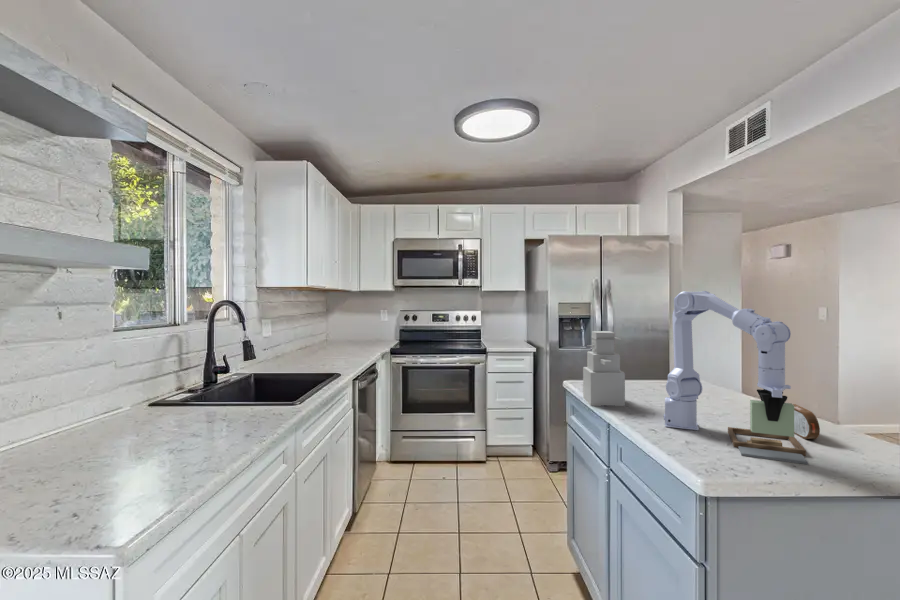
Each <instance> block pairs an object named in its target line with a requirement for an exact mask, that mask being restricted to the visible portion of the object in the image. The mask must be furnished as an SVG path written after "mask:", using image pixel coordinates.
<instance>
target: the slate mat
mask: <svg viewBox="0 0 900 600" xmlns="http://www.w3.org/2000/svg"><path fill="white" fill-rule="evenodd" d="M737 449H738V451H739V453H740V455H741V456H743V457H751V458H758V459H766V460H770V461H771V460H773V461H781V462H788V463H795V464H803V465H809V461H808V460H807V459H806V458H805V456H803V455H802V454H797V453H789V452H781V451H773V450H765V449H757V448H749V447H741V446H738V448H737Z"/></svg>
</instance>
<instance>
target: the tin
mask: <svg viewBox="0 0 900 600" xmlns="http://www.w3.org/2000/svg"><path fill="white" fill-rule="evenodd" d="M792 404H793V405H794V435H796V434H797V435H796V436H798V437H800V438H801V439H804V440H817V439H818V438H819V436H820V432H821V429H820V423H819V420H818V418H817V416H816V414H815V413H813V411H811V410H810V409H808V408H805V407H802V406H801V405H799V404H796V403H792Z"/></svg>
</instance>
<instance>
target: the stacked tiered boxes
mask: <svg viewBox="0 0 900 600" xmlns="http://www.w3.org/2000/svg"><path fill="white" fill-rule="evenodd" d="M616 340H621V338H619V337H618V336H617V337H616V336H615V332H614V331H610V330H603V331H602V330H599V331H598V330H592V331H591V344H590V345H588V347H591V351H587V352H586V353H587V354H586V355H587V357H586V359H587V361H586V364H587V366H583V367H582V380H583V381H582V383H583V384H582V387H583V388H582V390H583V391H582V393H583V394H582V395H583V396H582V397H583V399H584V401H586V403H588V405H589V406H591V407H602V406H601V405H615V406H614V407H626V373H625V372H624V371H623V370H621V355H620V354H619V353H617V352H616V350H615V349H616V346H615V345H616V344H615V341H616Z"/></svg>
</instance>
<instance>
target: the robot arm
mask: <svg viewBox="0 0 900 600" xmlns="http://www.w3.org/2000/svg"><path fill="white" fill-rule="evenodd" d="M716 295H717V294H715V293H711V292H709V291H707V290H702V291H685V290H684V291H681V292H679V293H678V294H677V295H676V296H675V297H674V298H673V312H672V316H671V317H672V333H673V334H672V336H673V337H672V339H673V340H672V342H673V343H672V344H673V366H674V367H673V369H672V370H671V371H670V372H669V373H668V374H667V381H666V384H665V390H666V393H667V394H668V396H669V397H664V413H663V420H664V427H666V428H674V429H681V430H682V429H684V430H691V431H693V430H694V431H699V429H700V428H699V423H698V421H697V415H698V414H697V412H698V411H697V409H698V407H697V405H698V403H697V402H698V401H697V400H699V396H701V394H702V393H703V385H702V382H701V379H700V378H701V377H700V374H699V373H698V372H697V371H696V370H695V369H694V348H693V324H692V323H693V322H692V321H693V320H694V319H695V318H697V317H698V316H699V315H701V314H703V313H706V312H708V311H709V310H710V311H712V312H714V313H717V314H719V315H721V316H723V317H726V318H728V319H729V320H731V322H732V325H733V326H734V327H736V328H738V329H740V331H742V332H744V333H746V334H748V335H751V336H752V337H753V339H754V341H755V342H756V349H757V351H758V352H757V353H758V355H757V356H758V359H757V360H758V361H757V363H758V364H757V367H758V368H757V369H758V370H757V372H758V373H757V374H758V375H757V377H758V379H757V380H758V381H757V387H758V388H760V389H758V388H757V389H756V392H757V393H758V395H759V399H760V401H763V402H764V405H765V409H766V415H767V419H768V421H776V422H778V420H779V417H780V413H781V409H782V406H783V404H784V403H786V401H787V400H788V396H787V395H784V391H786V390H787V389H788V390H791V389H792V386H791V385H789V384H786V342H788V341H789V340H790V338H791V330H790V327H789V326H788V325H787V324H786V323H784V322H782V321H772V320H771V318H770V317H768V316H766V317H764V316H762V315H760V314H758V313H756V312H755V311H756V310H755V309H753V308H741V309H739V308H737V307H735V306H734V305H732V304H730V303H728V302H727V301H726V300H723V299H722V298H720V297H718V296H716Z"/></svg>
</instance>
